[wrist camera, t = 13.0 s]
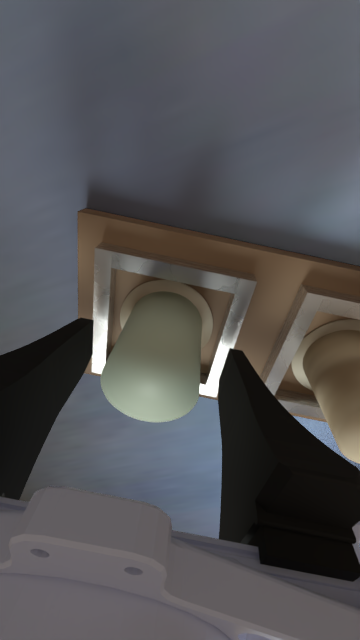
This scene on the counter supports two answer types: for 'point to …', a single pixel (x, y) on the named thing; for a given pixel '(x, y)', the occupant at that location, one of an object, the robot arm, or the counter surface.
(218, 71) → the counter surface
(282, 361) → the board
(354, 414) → the ash peg
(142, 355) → the sage peg
